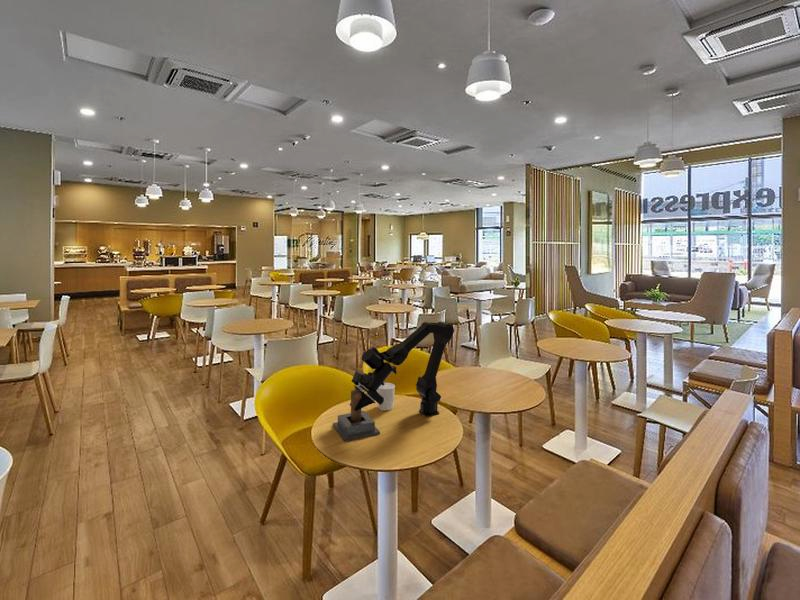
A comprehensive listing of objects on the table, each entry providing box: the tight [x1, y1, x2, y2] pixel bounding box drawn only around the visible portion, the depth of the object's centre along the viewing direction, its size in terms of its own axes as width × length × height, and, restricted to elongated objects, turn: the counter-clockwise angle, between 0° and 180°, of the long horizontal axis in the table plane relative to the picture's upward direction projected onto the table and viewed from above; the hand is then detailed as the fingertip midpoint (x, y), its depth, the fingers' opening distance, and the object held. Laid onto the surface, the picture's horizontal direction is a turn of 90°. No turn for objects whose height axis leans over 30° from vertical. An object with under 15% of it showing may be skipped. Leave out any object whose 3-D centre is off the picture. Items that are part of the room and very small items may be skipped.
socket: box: [332, 410, 381, 442], centre depth 158 cm, size 14×14×4 cm
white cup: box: [377, 382, 396, 411], centre depth 179 cm, size 8×8×10 cm
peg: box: [350, 388, 362, 423], centre depth 157 cm, size 4×4×13 cm
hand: (352, 408), depth 156 cm, fingers closed on peg, 4 cm apart
